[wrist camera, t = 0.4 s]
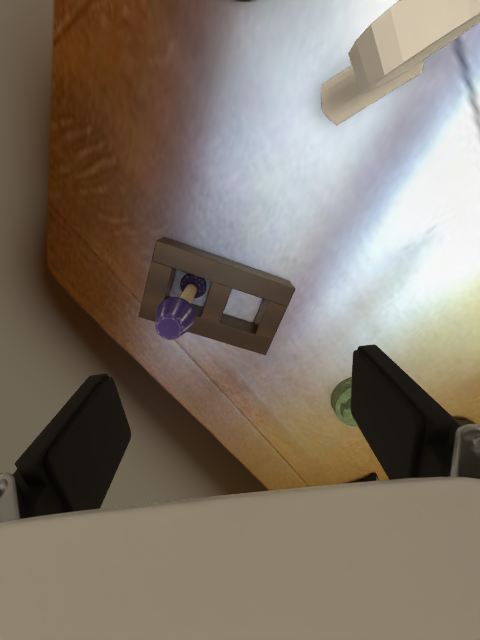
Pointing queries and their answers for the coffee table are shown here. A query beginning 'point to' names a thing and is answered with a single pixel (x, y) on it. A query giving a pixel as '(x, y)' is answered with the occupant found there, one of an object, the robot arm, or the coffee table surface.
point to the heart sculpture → (395, 52)
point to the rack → (218, 294)
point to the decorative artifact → (343, 402)
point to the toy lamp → (179, 308)
